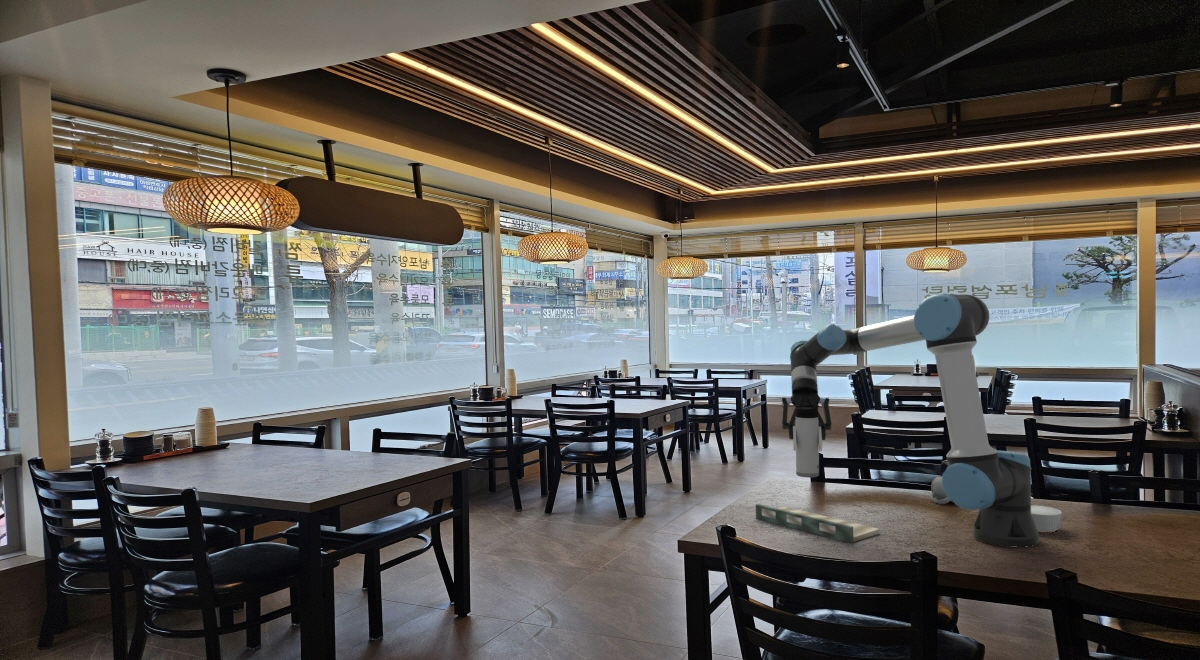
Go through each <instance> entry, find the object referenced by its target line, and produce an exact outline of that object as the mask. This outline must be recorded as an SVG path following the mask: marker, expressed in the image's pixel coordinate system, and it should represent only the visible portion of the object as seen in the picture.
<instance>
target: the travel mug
mask: <svg viewBox="0 0 1200 660" xmlns="http://www.w3.org/2000/svg"><path fill="white" fill-rule="evenodd" d="M819 408H820V407H819V404H818V405H816V404H813V405H806V406H800V407H797V408H796V424H795V426H796V451H795V469H796V470H795V474H796V476H797V477H800V478H801V477H802V478H816V477H817V478H818V476H820V453H819V452H820V451H819V438H818V427H819V426H818V412H819Z"/></svg>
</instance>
